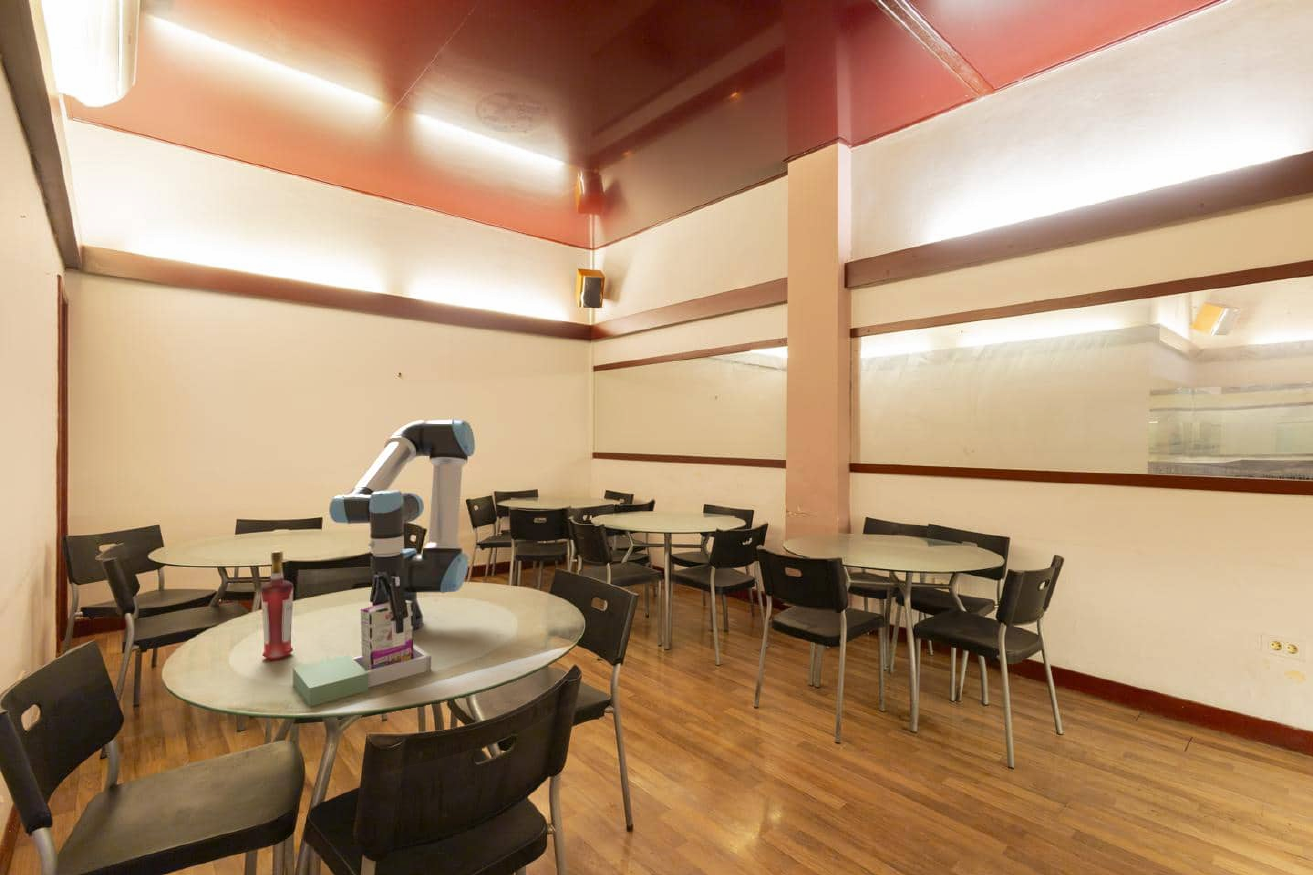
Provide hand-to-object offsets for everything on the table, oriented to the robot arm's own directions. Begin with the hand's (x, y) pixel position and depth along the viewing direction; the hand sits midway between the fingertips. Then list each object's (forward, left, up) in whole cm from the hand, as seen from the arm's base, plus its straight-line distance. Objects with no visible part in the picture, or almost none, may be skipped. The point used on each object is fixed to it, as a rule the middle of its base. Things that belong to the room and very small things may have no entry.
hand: (388, 638), depth 147 cm
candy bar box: (0, 0, -8) cm, 8 cm away
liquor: (-31, -18, -8) cm, 37 cm away
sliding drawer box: (0, -6, -8) cm, 10 cm away
